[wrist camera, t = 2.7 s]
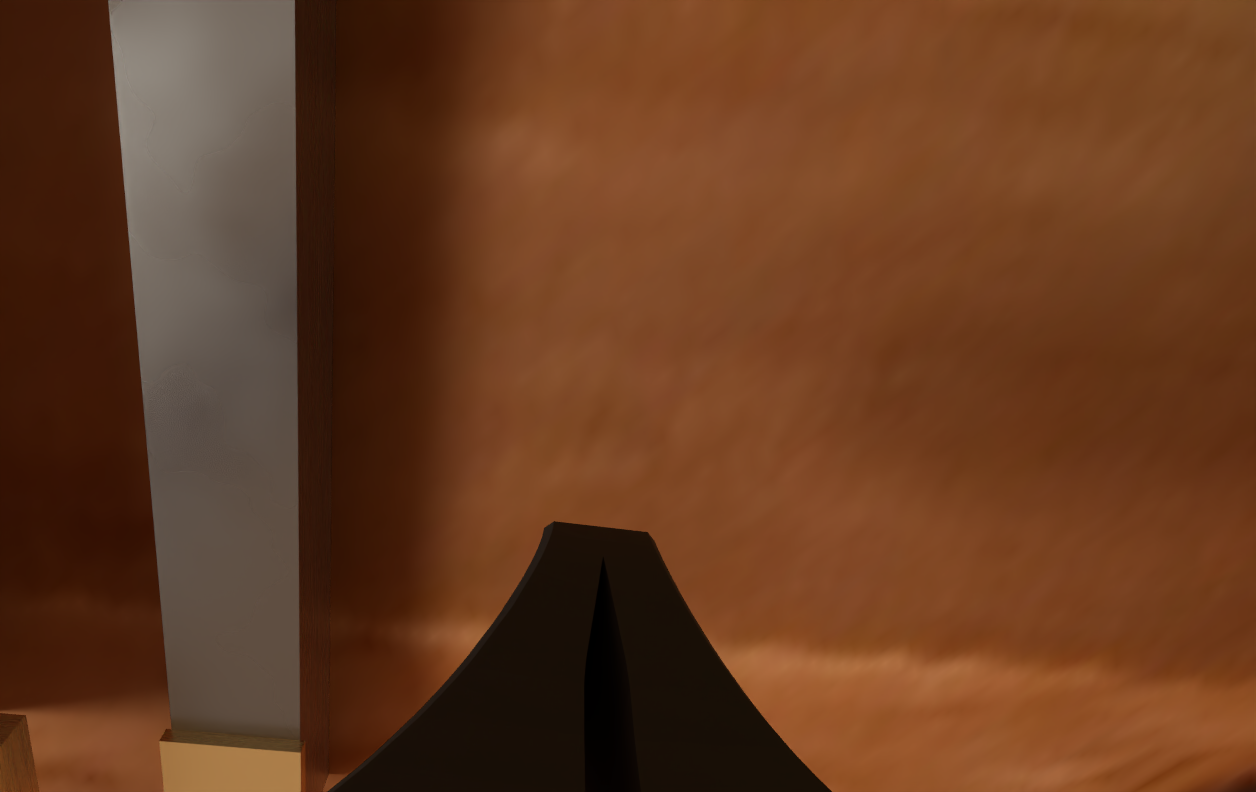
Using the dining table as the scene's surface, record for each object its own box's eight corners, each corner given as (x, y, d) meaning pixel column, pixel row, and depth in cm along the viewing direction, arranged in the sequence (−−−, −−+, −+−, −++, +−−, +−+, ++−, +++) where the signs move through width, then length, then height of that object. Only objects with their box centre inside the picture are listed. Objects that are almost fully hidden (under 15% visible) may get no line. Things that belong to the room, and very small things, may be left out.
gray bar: (336, 762, 20) (301, 867, 18) (221, 753, 20) (170, 857, 18) (353, -278, 12) (293, -347, 10) (161, -314, 12) (50, -394, 10)
